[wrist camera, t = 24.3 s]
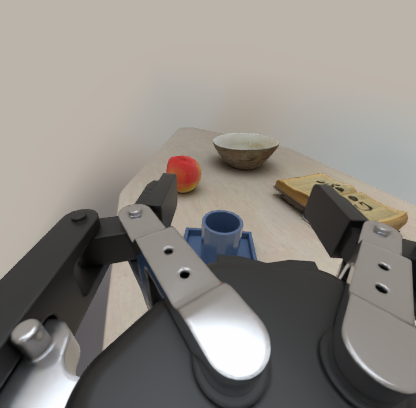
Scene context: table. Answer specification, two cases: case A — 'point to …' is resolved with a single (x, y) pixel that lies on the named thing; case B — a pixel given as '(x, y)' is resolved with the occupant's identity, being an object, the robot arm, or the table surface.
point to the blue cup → (220, 235)
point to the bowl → (245, 149)
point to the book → (371, 209)
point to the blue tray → (245, 248)
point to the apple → (184, 172)
